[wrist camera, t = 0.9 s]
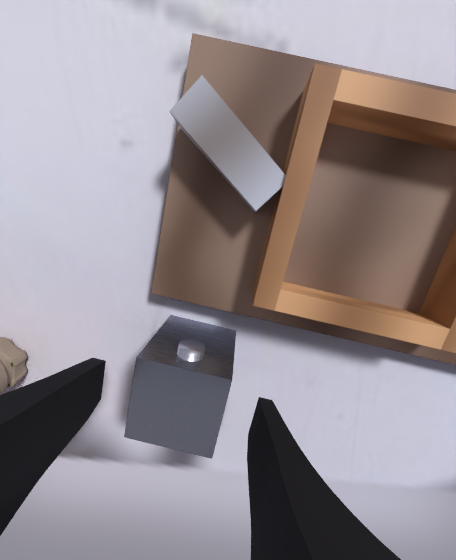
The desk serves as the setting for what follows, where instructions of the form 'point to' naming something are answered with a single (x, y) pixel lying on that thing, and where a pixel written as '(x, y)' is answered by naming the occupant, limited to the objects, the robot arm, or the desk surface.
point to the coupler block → (182, 386)
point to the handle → (11, 364)
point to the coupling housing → (313, 198)
